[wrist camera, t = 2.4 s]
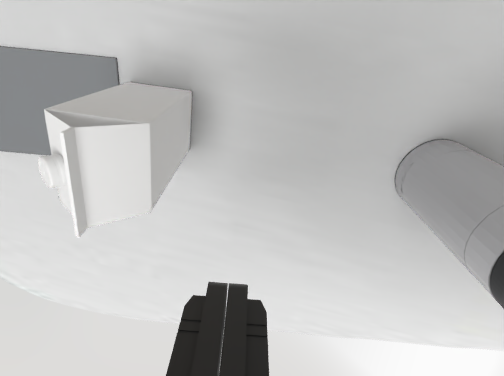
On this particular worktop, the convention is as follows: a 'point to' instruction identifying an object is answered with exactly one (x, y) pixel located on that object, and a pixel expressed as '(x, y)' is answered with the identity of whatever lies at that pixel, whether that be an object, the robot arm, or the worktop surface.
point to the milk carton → (115, 150)
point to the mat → (44, 91)
